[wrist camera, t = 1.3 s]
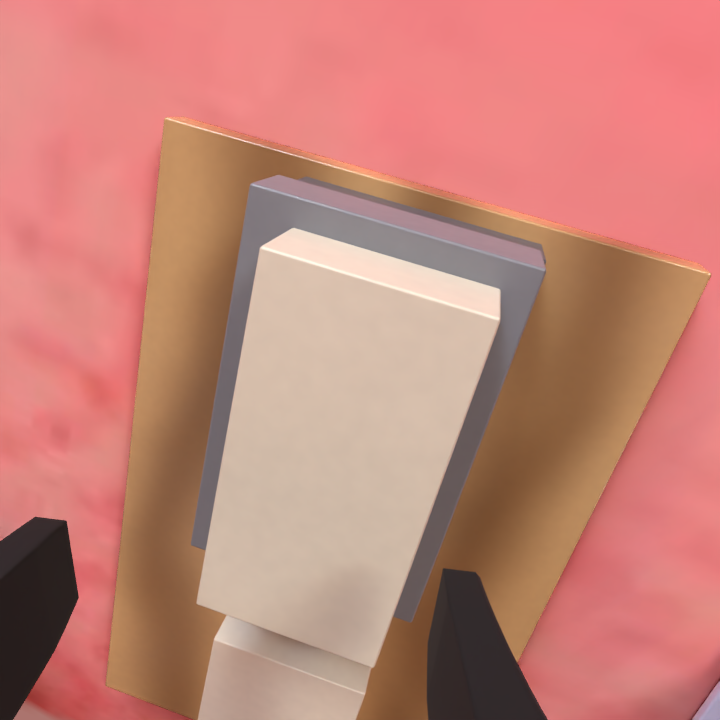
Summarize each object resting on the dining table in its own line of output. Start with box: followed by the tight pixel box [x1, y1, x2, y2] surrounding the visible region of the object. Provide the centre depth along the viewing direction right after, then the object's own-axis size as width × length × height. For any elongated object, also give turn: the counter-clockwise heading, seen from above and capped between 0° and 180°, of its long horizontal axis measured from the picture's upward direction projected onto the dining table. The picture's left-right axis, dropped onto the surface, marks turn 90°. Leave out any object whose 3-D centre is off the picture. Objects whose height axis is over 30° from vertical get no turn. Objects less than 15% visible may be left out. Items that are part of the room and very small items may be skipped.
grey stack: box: [191, 175, 546, 622], centre depth 18 cm, size 7×11×4 cm, turn 167°
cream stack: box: [198, 615, 371, 720], centre depth 23 cm, size 5×10×4 cm, turn 167°
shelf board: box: [106, 117, 711, 720], centre depth 23 cm, size 16×25×1 cm, turn 167°
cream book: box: [196, 228, 501, 668], centre depth 15 cm, size 5×10×2 cm, turn 167°
